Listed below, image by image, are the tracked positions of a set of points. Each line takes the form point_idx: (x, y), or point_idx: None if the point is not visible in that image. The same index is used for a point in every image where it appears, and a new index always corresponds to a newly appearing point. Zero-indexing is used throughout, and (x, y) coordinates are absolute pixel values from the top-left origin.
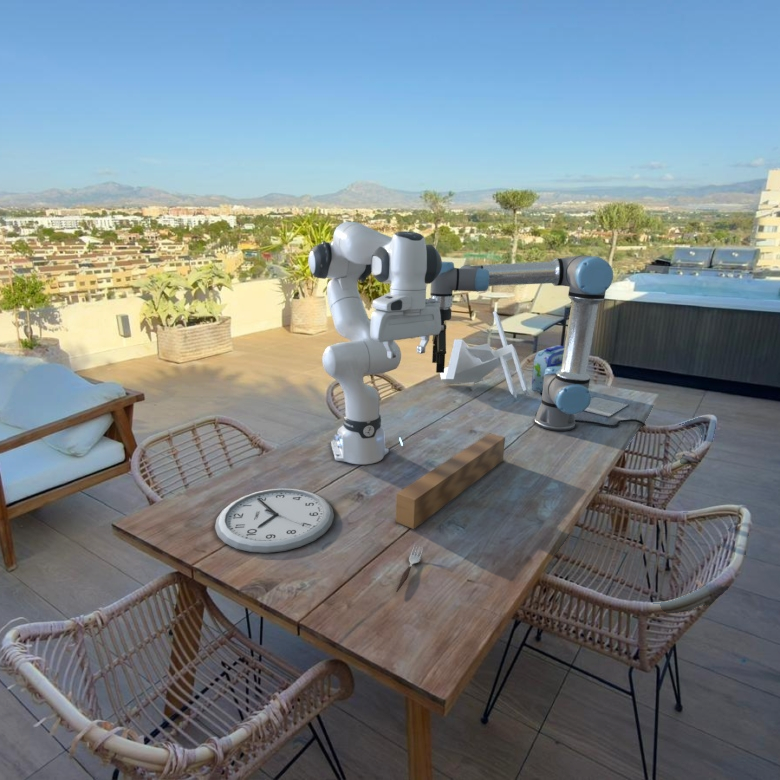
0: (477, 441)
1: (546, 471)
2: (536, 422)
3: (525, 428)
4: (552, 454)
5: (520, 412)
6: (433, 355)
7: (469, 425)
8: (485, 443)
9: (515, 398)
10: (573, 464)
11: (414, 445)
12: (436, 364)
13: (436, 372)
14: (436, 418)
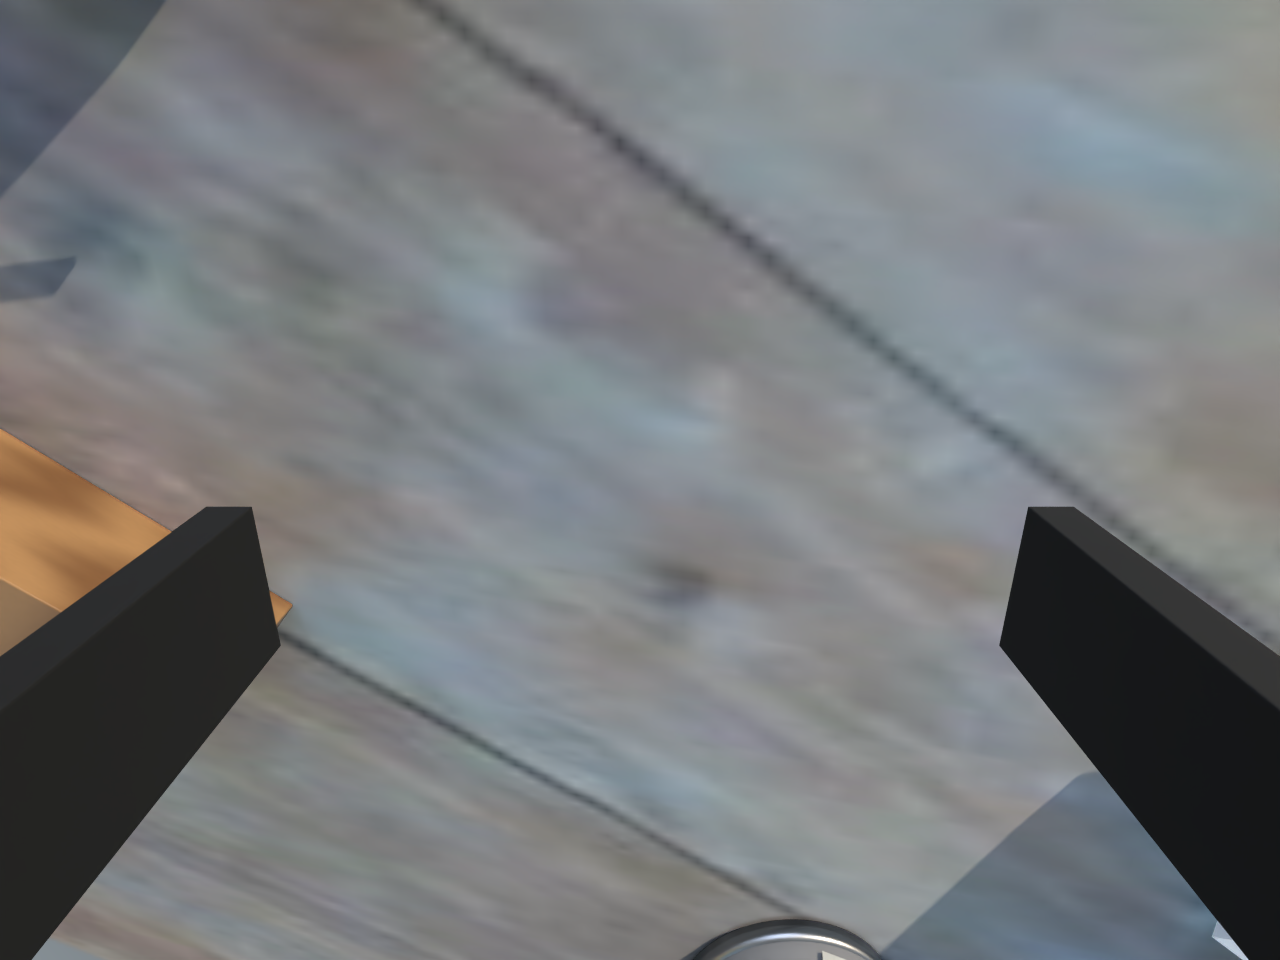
0: (27, 597)
1: (164, 822)
2: (777, 932)
3: (727, 861)
4: (375, 890)
5: (991, 892)
6: (1129, 611)
7: (792, 583)
8: (6, 641)
9: (1218, 924)
10: (273, 936)
11: (394, 141)
12: (139, 590)
13: (205, 511)
14: (957, 373)
